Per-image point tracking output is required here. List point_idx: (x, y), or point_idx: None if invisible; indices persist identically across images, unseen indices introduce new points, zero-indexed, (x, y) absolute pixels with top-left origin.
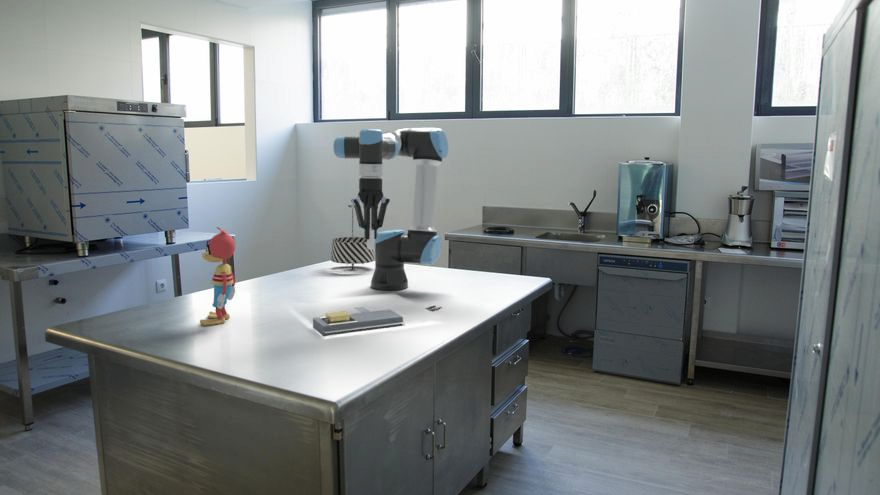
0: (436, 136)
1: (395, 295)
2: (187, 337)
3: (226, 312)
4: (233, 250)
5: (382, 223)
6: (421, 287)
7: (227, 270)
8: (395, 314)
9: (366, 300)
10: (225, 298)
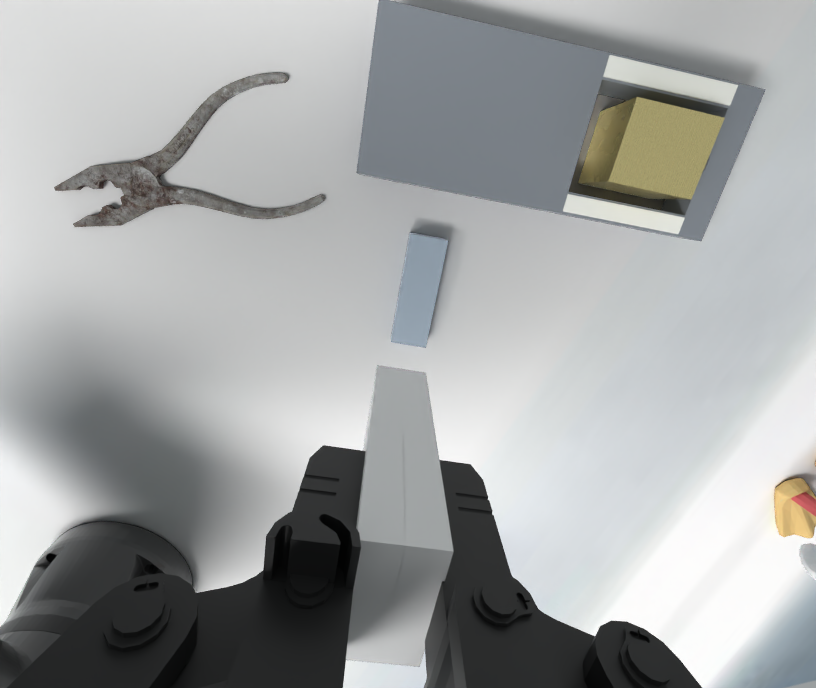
0: None
1: (159, 464)
2: None
3: (801, 499)
4: None
5: (28, 684)
6: (3, 514)
7: None
8: (386, 65)
9: (297, 457)
10: None
